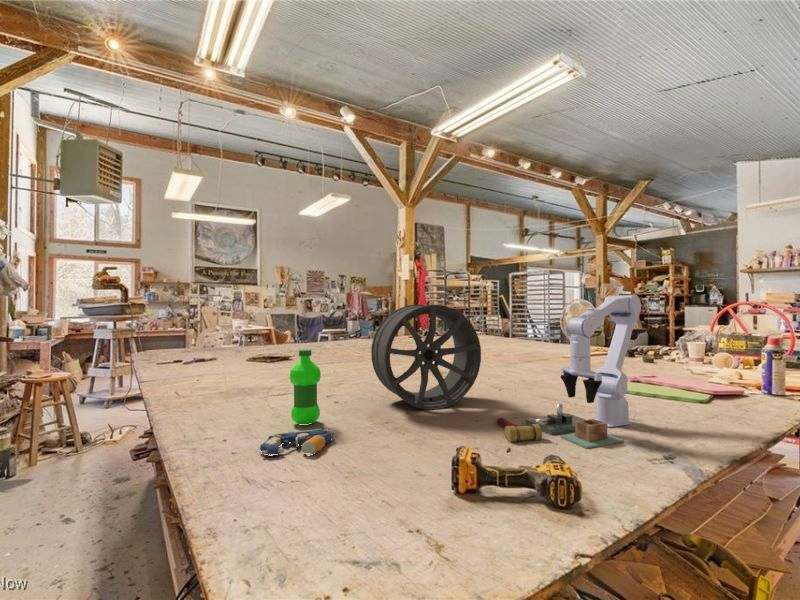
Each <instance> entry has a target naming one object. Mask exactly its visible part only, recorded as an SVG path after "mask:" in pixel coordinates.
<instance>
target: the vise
mask: <svg viewBox="0 0 800 600" xmlns="http://www.w3.org/2000/svg"><path fill="white" fill-rule="evenodd" d="M563 405H564V404H563V403H557V404H556V414H554V413H552V414H551V413H550V414H547V415H545V416H539V417H530V418H525V419H524V420H525V423H524V424H525V425H526V426H530V425H531V424H538V425H539V426H540V427H541V430H542V433H545V434H548V435H549V436H553V435H558V434H560V435H561V434H564V433H571V432H572V433H573V432H575V421H581V420H587V419H585V418H583V417H580V416H576V415H573V414H571V413H569V412H568V413H564V411H563V410H564V409H563V407H564V406H563Z"/></svg>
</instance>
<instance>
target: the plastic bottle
mask: <svg viewBox="0 0 800 600" xmlns="http://www.w3.org/2000/svg"><path fill="white" fill-rule="evenodd" d="M298 356H299V357H300V360H299V361H298V362H297V363H296V364H294V365H293V366H292V368H291V369H290V372H289V380H290V382H291V384H292V385H293V406H292V408H291V413H290V414H291V415H290V416H291V417H290V418H291V419H292V421H293V422H295V423H296V424H297V423H298V424H309V423H313V422H314V423H316V422H317V421H318V419H319V418H320V416H321V409H320V406H319V405H318V383H319V382H320V381H321V373H322V372H321V370H320V367H319V366H318V365H317V364H316V363H315V362H314V361H312V360H311V356H312V349H309V348H308V349H305V348H304V349H299V350H298ZM314 423H313V424H314ZM298 424H297V425H298Z"/></svg>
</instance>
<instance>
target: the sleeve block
mask: <svg viewBox="0 0 800 600" xmlns="http://www.w3.org/2000/svg"><path fill="white" fill-rule="evenodd" d="M595 419H596V418H589V419H586V420H581V421H575V431H574V433H575V437H577V438H580V439H582V440H585V441H587V442H593V441H599V440H605V439H607V434H608V427H607V423H604V422H601V421H598V420H595Z"/></svg>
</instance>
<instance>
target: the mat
mask: <svg viewBox="0 0 800 600" xmlns="http://www.w3.org/2000/svg"><path fill="white" fill-rule="evenodd" d="M560 438H561V439H563V440H565V441H568V442H570V443H573V444H575V445H577V446H578V447H582V448H584V449H587V450H588V449H591V448H592V449H594V448H599V447H604V446H603V445H605V446H609V444H610V445H615V444H614V443H616V444H620V443H619V442H621V443H624V442H625V439H623V438H621V437H620V438H619V437H617V436H615V435H611V434H608V433H607V439H605V440H599V441H593V442H587V441H585V440H582V439H580V438H577V437H575V432H572V433H568V434H562V435H561V434H560Z"/></svg>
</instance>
